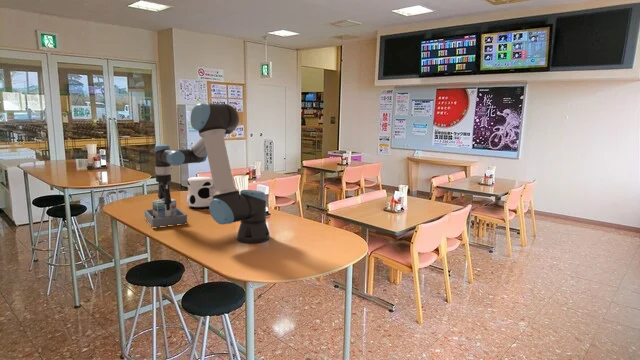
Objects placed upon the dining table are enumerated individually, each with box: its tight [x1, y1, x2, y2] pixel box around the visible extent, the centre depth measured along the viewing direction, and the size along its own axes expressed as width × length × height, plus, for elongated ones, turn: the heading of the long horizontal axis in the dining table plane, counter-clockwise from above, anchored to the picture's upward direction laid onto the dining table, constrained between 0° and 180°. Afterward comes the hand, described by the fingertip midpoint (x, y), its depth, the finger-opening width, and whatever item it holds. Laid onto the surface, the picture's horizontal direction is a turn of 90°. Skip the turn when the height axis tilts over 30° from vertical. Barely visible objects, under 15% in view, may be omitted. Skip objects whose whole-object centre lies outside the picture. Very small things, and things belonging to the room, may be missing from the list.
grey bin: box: [143, 206, 188, 228], centre depth 209 cm, size 22×17×5 cm
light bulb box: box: [151, 197, 177, 219], centre depth 208 cm, size 11×7×11 cm, turn 137°
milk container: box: [186, 176, 215, 209], centre depth 243 cm, size 17×17×18 cm
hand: (165, 213), depth 208 cm, fingers open, 13 cm apart
